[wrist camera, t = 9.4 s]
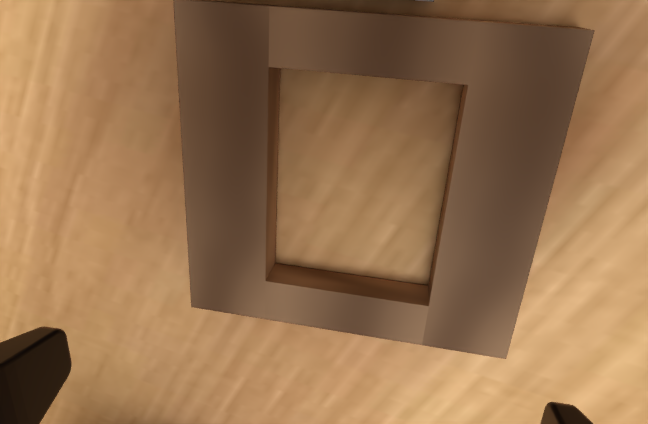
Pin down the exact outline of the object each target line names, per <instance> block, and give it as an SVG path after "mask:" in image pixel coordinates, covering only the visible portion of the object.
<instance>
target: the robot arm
mask: <svg viewBox="0 0 648 424" xmlns="http://www.w3.org/2000/svg"><path fill="white" fill-rule="evenodd" d="M70 370H71V357H70V352H69V347H68V342H67V336H66V334H65V332H64V331H63V330H61V329H58V328H51V327H39V328H37V329H34V330H32V331H29V332H26V333H24V334H21V335H19V336H16V337H14V338H11V339H9V340H6V341H3V342H1V343H0V424H40V422H41V420H42V419H43V417H44V415H45V414H46V412H47V410H48V409H49V407H50V405H51V404H52V402H53V400H54V399H55V397H56V396H57V394H58V392H59V391H60V389H61V387H62V386H63V384H64V382H65V381H66V379H67V377H68V375H69V373H70ZM541 424H593V423H592V422H591V421H590V420H589V419H588V418H587V417H586V416H585V415H584V414H583V413H582V412H581V411H580V410H579V409H578V408H576V407H575V406H573V405H570V404H563V403H557V402H550V403H548V404H547V405H546V407H545V410H544V413H543V417H542V420H541Z"/></svg>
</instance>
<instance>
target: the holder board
mask: <svg viewBox="0 0 648 424" xmlns="http://www.w3.org/2000/svg"><path fill="white" fill-rule="evenodd" d="M173 1H174V18H175V35H176V52H177V69H178V86H179V103H180V120H181V138H182V155H183V172H184V189H185V206H186V223H187V240H188V257H189V274H190V291H191V307H195V308H201V309H207V310H213V311H219V312H225V313H231V314H237V315H243V316H249V317H255V318H261V319H267V320H273V321H279V322H285V323H291V324H297V325H304V326H310V327H316V328H322V329H328V330H334V331H340V332H346V333H352V334H358V335H364V336H370V337H376V338H382V339H388V340H394V341H400V342H406V343H412V344H418V345H425V346H431V347H437V348H443V349H449V350H455V351H461V352H467V353H473V354H479V355H485V356H491V357H497V358H503V359H506V357H507V354H508V350H509V346H510V342H511V339H512V335H513V331H514V328H515V324H516V320H517V316H518V313H519V309H520V305H521V302H522V298H523V294H524V290H525V287H526V283H527V279H528V276H529V272H530V268H531V264H532V261H533V257H534V253H535V250H536V246H537V242H538V238H539V235H540V231H541V227H542V223H543V220H544V216H545V212H546V209H547V205H548V201H549V197H550V194H551V190H552V186H553V183H554V179H555V175H556V171H557V168H558V164H559V160H560V157H561V153H562V149H563V145H564V142H565V138H566V134H567V131H568V127H569V123H570V119H571V116H572V112H573V108H574V105H575V101H576V97H577V93H578V90H579V86H580V82H581V79H582V75H583V71H584V67H585V64H586V60H587V56H588V53H589V49H590V45H591V41H592V38H593V34H594V30H591V29H585V28H579V27H565V26H551V25H538V24H524V23H510V22H496V21H482V20H468V19H454V18H440V17H427V16H413V15H399V14H385V13H371V12H357V11H343V10H329V9H316V8H302V7H288V6H274V5H260V4H246V3H232V2H218V1H205V0H173ZM280 68H286V69H297V70H308V71H319V72H330V73H341V74H352V75H363V76H374V77H385V78H396V79H407V80H418V81H429V82H440V83H452V84H463V90H462V95H461V101H460V107H459V113H458V118H457V124H456V130H455V136H454V141H453V147H452V153H451V159H450V164H449V170H448V176H447V182H446V187H445V193H444V199H443V205H442V210H441V216H440V222H439V228H438V233H437V239H436V245H435V251H434V256H433V262H432V268H431V274H430V279H429V285H428V286H426V285H419V284H412V283H405V282H399V281H392V280H385V279H378V278H372V277H365V276H358V275H351V274H345V273H338V272H331V271H324V270H318V269H311V268H304V267H297V266H291V265H284V264H277V263H275V257H276V216H277V174H278V132H279V91H280Z"/></svg>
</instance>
